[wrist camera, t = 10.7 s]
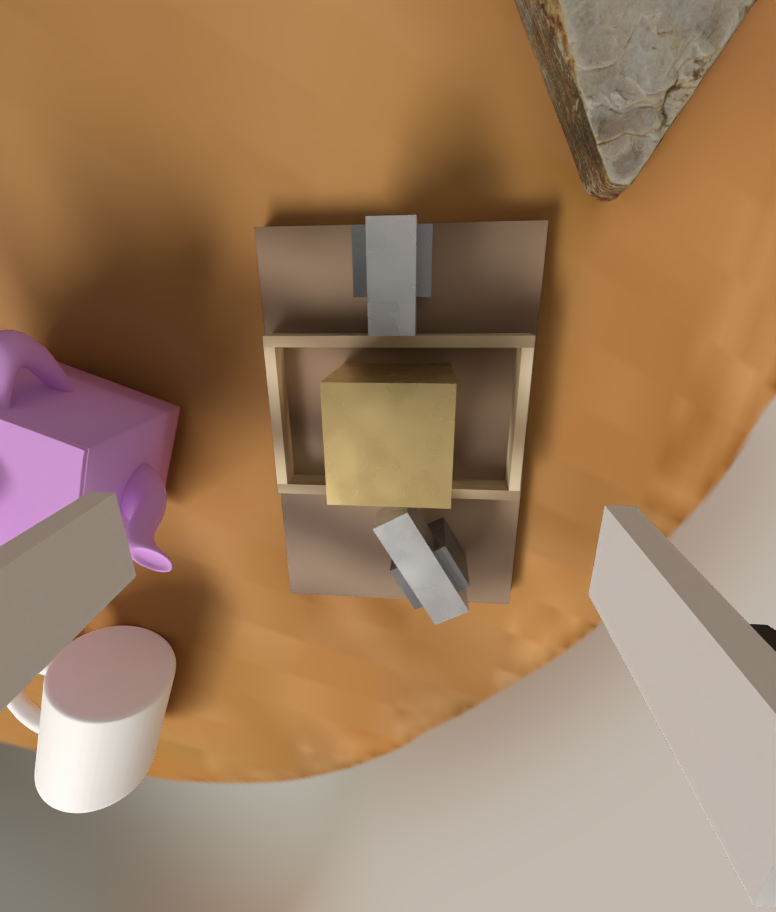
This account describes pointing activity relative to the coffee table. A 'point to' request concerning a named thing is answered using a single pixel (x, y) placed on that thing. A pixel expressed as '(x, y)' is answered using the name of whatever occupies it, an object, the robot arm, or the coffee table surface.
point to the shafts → (395, 314)
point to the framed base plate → (436, 341)
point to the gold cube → (389, 434)
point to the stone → (623, 73)
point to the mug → (99, 716)
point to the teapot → (80, 445)
